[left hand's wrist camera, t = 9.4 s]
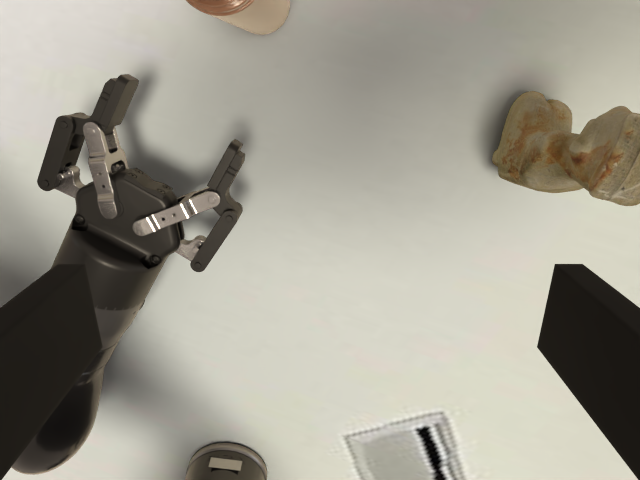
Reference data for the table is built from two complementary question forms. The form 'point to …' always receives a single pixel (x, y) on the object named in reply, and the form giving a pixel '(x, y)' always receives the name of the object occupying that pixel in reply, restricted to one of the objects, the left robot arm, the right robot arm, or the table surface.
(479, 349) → the table surface
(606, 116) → the sculpture
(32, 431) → the left robot arm
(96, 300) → the right robot arm
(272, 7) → the bottle
